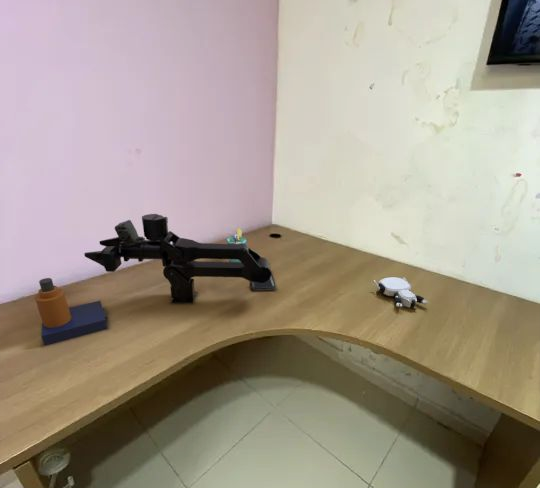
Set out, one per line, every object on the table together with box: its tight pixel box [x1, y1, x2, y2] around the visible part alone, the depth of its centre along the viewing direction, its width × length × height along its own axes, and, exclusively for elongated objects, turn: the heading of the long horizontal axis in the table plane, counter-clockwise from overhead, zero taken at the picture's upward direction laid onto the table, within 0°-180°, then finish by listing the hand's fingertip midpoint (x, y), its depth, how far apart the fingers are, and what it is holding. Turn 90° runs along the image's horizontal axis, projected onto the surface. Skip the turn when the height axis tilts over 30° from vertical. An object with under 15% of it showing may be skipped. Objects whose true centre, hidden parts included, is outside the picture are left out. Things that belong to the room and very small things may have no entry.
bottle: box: [34, 277, 71, 328], centre depth 78 cm, size 6×6×12 cm
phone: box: [251, 272, 276, 292], centre depth 112 cm, size 8×1×15 cm
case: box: [41, 300, 108, 346], centre depth 84 cm, size 15×11×3 cm
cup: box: [225, 227, 247, 262], centre depth 119 cm, size 14×8×15 cm, turn 1°
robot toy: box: [373, 276, 429, 308], centre depth 104 cm, size 12×4×15 cm
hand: (92, 248), depth 91 cm, fingers open, 9 cm apart
